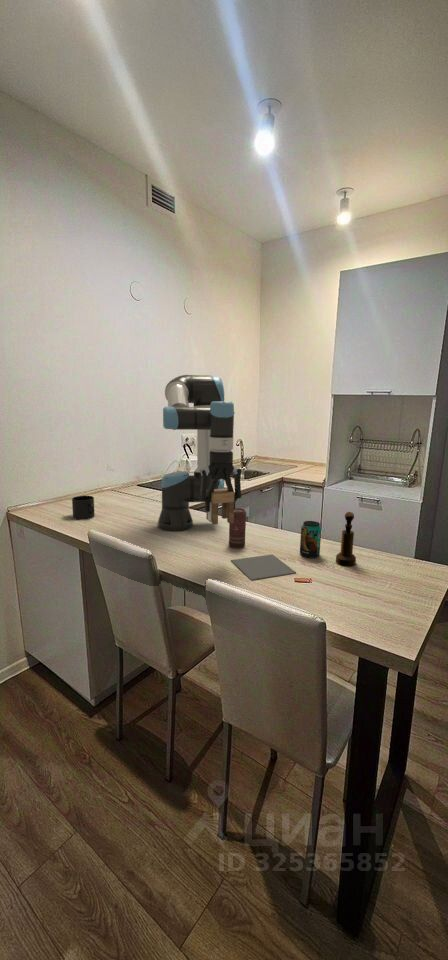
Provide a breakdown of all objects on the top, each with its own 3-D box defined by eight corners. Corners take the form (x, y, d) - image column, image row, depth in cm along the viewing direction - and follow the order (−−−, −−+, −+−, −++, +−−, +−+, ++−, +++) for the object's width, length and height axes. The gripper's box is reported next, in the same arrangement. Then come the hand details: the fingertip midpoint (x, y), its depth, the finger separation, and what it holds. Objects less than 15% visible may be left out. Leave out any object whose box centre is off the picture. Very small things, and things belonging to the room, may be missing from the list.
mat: (230, 561, 135) (230, 559, 135) (272, 555, 141) (272, 554, 141) (250, 580, 121) (251, 579, 121) (296, 573, 127) (296, 572, 126)
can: (244, 549, 147) (245, 512, 144) (227, 547, 148) (228, 511, 145) (246, 543, 152) (247, 508, 150) (230, 542, 154) (231, 507, 151)
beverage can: (295, 554, 142) (297, 523, 140) (306, 550, 147) (308, 519, 145) (313, 560, 137) (315, 527, 135) (323, 555, 142) (325, 523, 140)
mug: (85, 522, 175) (84, 502, 173) (68, 517, 182) (67, 498, 180) (102, 517, 183) (101, 498, 181) (86, 513, 189) (85, 494, 188)
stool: (206, 518, 133) (206, 489, 131) (225, 517, 135) (226, 488, 133) (213, 524, 126) (213, 494, 124) (233, 522, 129) (234, 492, 127)
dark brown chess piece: (341, 557, 141) (345, 508, 137) (359, 562, 136) (363, 512, 133) (332, 562, 136) (336, 512, 133) (349, 568, 131) (354, 516, 128)
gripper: (195, 452, 119) (195, 525, 124) (253, 451, 126) (251, 520, 130) (189, 449, 126) (188, 519, 131) (244, 448, 133) (242, 514, 137)
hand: (220, 519), depth 130 cm, fingers closed on stool, 6 cm apart
